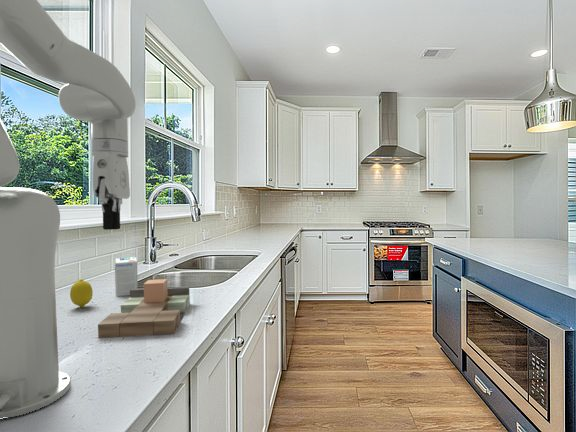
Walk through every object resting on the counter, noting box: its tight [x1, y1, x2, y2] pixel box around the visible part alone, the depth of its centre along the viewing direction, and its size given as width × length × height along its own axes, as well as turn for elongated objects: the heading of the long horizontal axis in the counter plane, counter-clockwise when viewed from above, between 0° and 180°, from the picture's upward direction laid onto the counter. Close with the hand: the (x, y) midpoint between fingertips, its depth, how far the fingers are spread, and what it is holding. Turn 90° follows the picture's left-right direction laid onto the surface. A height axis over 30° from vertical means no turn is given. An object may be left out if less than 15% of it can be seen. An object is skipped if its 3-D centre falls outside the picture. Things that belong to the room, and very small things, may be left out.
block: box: [143, 278, 168, 303], centre depth 99 cm, size 5×5×5 cm
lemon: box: [69, 279, 94, 308], centre depth 103 cm, size 6×6×8 cm
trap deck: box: [97, 286, 191, 339], centre depth 92 cm, size 24×16×5 cm, turn 7°
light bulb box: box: [114, 256, 139, 297], centre depth 121 cm, size 11×7×11 cm, turn 25°
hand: (111, 229), depth 84 cm, fingers closed
